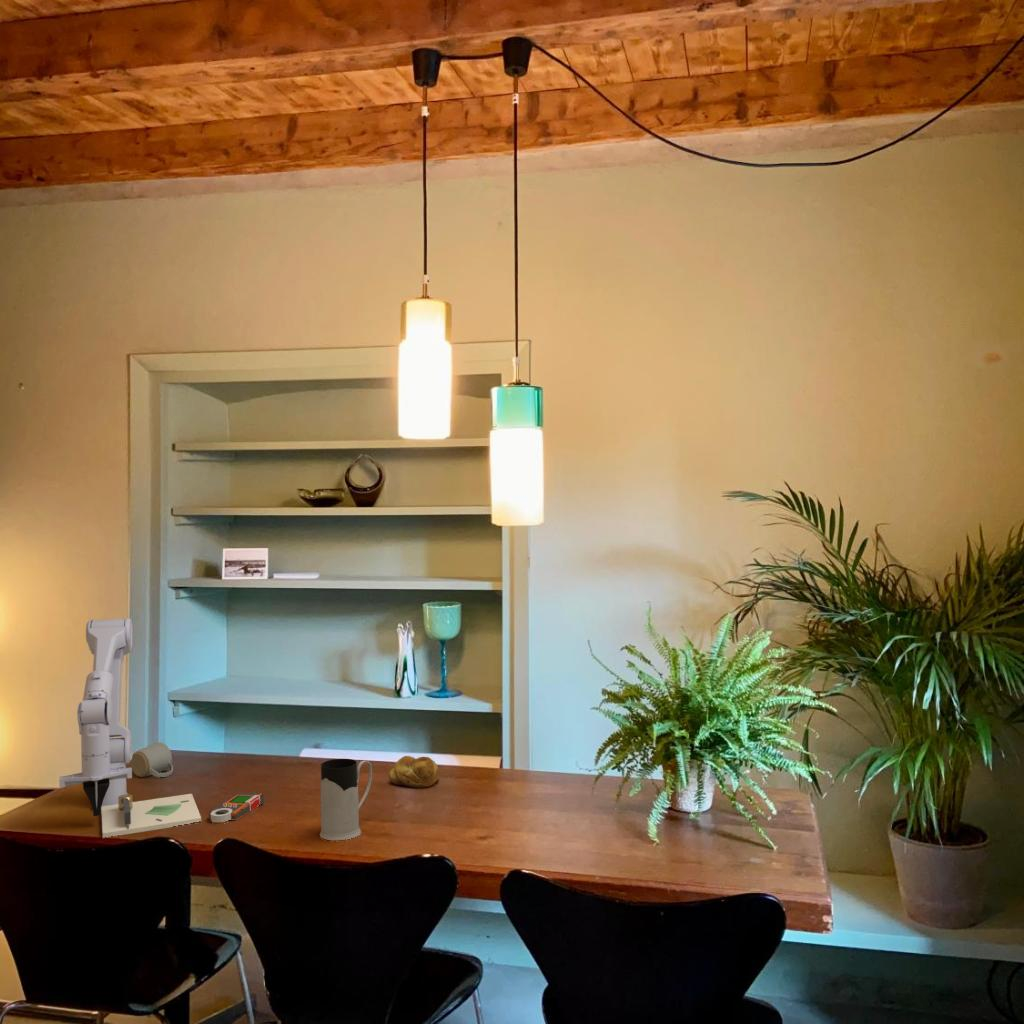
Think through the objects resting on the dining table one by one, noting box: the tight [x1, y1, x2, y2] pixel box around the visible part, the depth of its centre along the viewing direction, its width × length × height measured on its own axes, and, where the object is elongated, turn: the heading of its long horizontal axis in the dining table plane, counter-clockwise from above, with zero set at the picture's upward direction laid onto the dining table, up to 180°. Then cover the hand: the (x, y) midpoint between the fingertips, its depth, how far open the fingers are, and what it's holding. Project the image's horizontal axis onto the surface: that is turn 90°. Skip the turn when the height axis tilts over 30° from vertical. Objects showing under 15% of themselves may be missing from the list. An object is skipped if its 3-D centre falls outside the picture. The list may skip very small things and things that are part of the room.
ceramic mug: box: [129, 742, 174, 779], centre depth 238 cm, size 11×8×8 cm
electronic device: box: [209, 791, 265, 823], centre depth 205 cm, size 7×3×15 cm
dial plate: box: [101, 793, 202, 839], centre depth 204 cm, size 20×20×1 cm
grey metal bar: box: [118, 793, 134, 825], centre depth 200 cm, size 14×3×3 cm, turn 25°
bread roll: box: [388, 755, 440, 789], centre depth 225 cm, size 13×10×8 cm
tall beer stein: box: [319, 758, 373, 841], centre depth 192 cm, size 9×14×15 cm, turn 146°
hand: (96, 814), depth 198 cm, fingers closed
